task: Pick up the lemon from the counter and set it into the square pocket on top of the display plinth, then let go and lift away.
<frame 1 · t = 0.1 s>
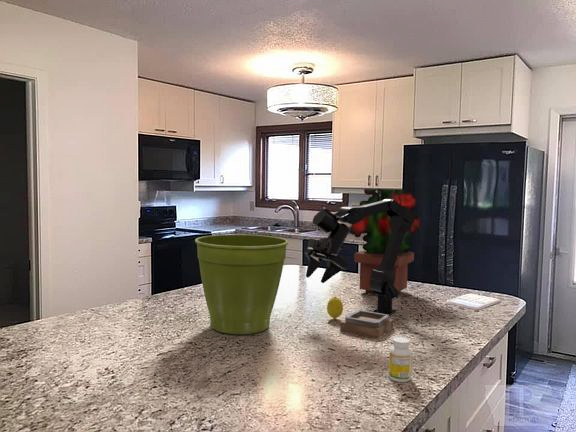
hand: (314, 279, 162), 15 cm above the countertop, tool tilted 30°, fingers open, 9 cm apart
calculator: (472, 304, 196), on the countertop
display plinth: (366, 329, 157), on the countertop
supplement bottle: (399, 378, 119), on the countertop
plant pot: (240, 327, 157), on the countertop
lemon: (334, 319, 168), on the countertop
potted plant: (383, 293, 210), on the countertop
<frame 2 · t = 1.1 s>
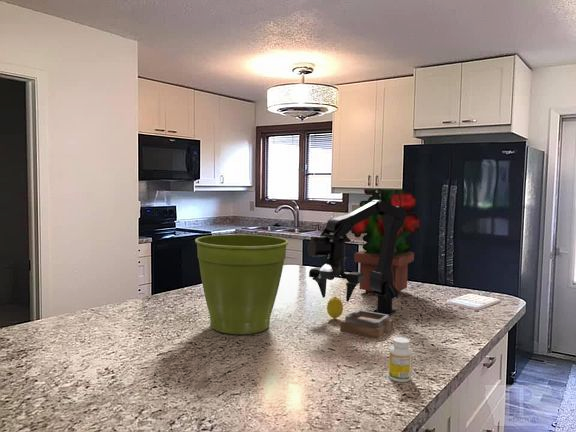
hand: (335, 299, 168), 7 cm above the countertop, tool pointing down, fingers open, 9 cm apart
nothing on the countertop moved.
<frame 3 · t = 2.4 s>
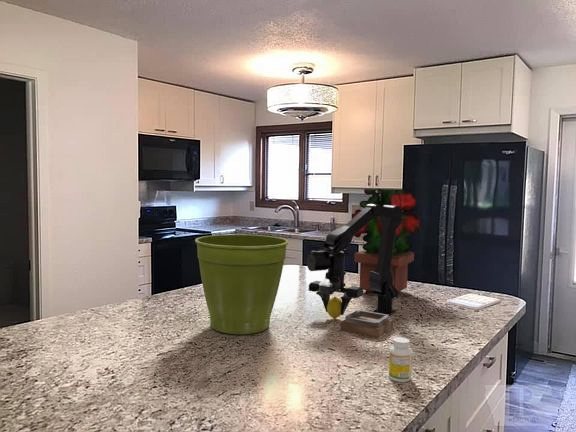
hand: (334, 313, 168), 2 cm above the countertop, tool pointing down, fingers closed on lemon, 5 cm apart
lemon: (334, 319, 168), on the countertop, touching gripper
everything else where it was.
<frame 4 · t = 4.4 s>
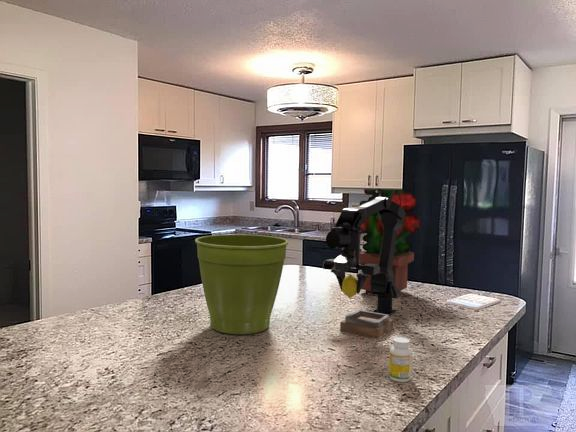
hand: (350, 292, 162), 11 cm above the countertop, tool pointing down, fingers closed on lemon, 5 cm apart
lemon: (349, 298, 162), point 9 cm above the countertop, touching gripper
everything else where it was.
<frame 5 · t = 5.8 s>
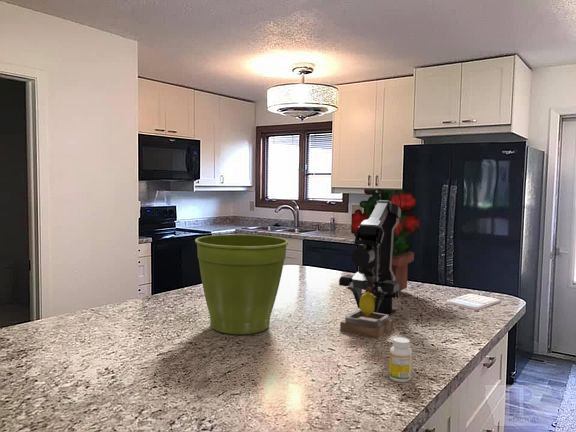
hand: (367, 309, 157), 7 cm above the countertop, tool pointing down, fingers closed on lemon, 5 cm apart
lemon: (367, 316, 157), point 4 cm above the countertop, touching gripper
everything else where it was.
when the fingers open (7 cm above the countertop, at t = 6.5 s): lemon drops 2 cm, resting on display plinth.
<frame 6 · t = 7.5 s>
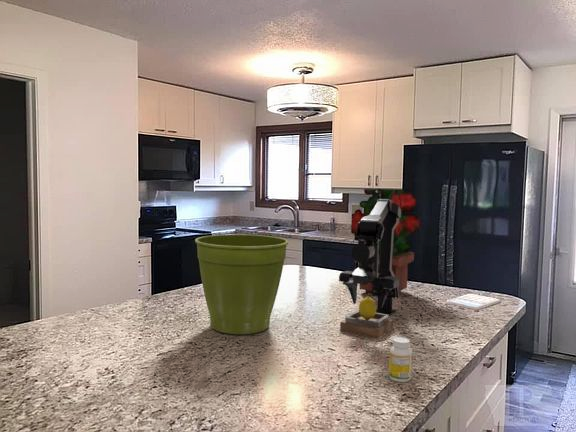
hand: (367, 305, 156), 8 cm above the countertop, tool pointing down, fingers open, 9 cm apart
lemon: (367, 321, 157), point 3 cm above the countertop, touching display plinth
everything else where it was.
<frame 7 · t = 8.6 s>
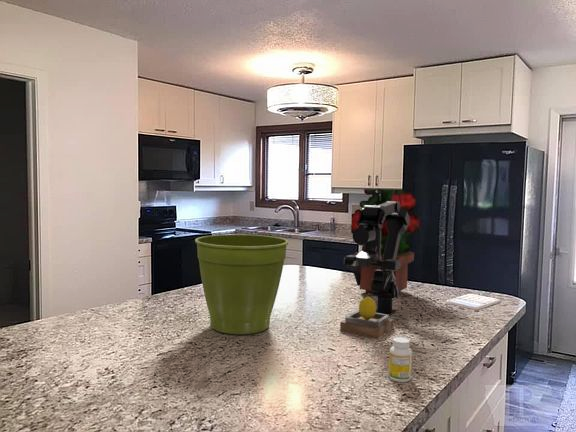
hand: (370, 287, 166), 12 cm above the countertop, tool pointing down, fingers open, 9 cm apart
nothing on the countertop moved.
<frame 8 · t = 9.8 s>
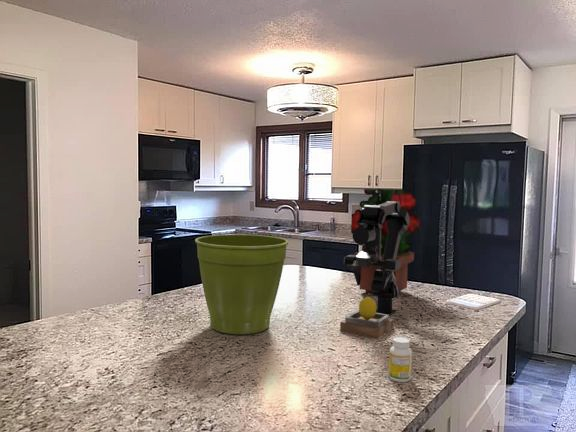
hand: (370, 287, 166), 12 cm above the countertop, tool pointing down, fingers open, 9 cm apart
nothing on the countertop moved.
at the end: lemon 0.0 cm off-centre on the display plinth, point 2.8 cm above the display plinth's base; the gripper is holding nothing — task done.
